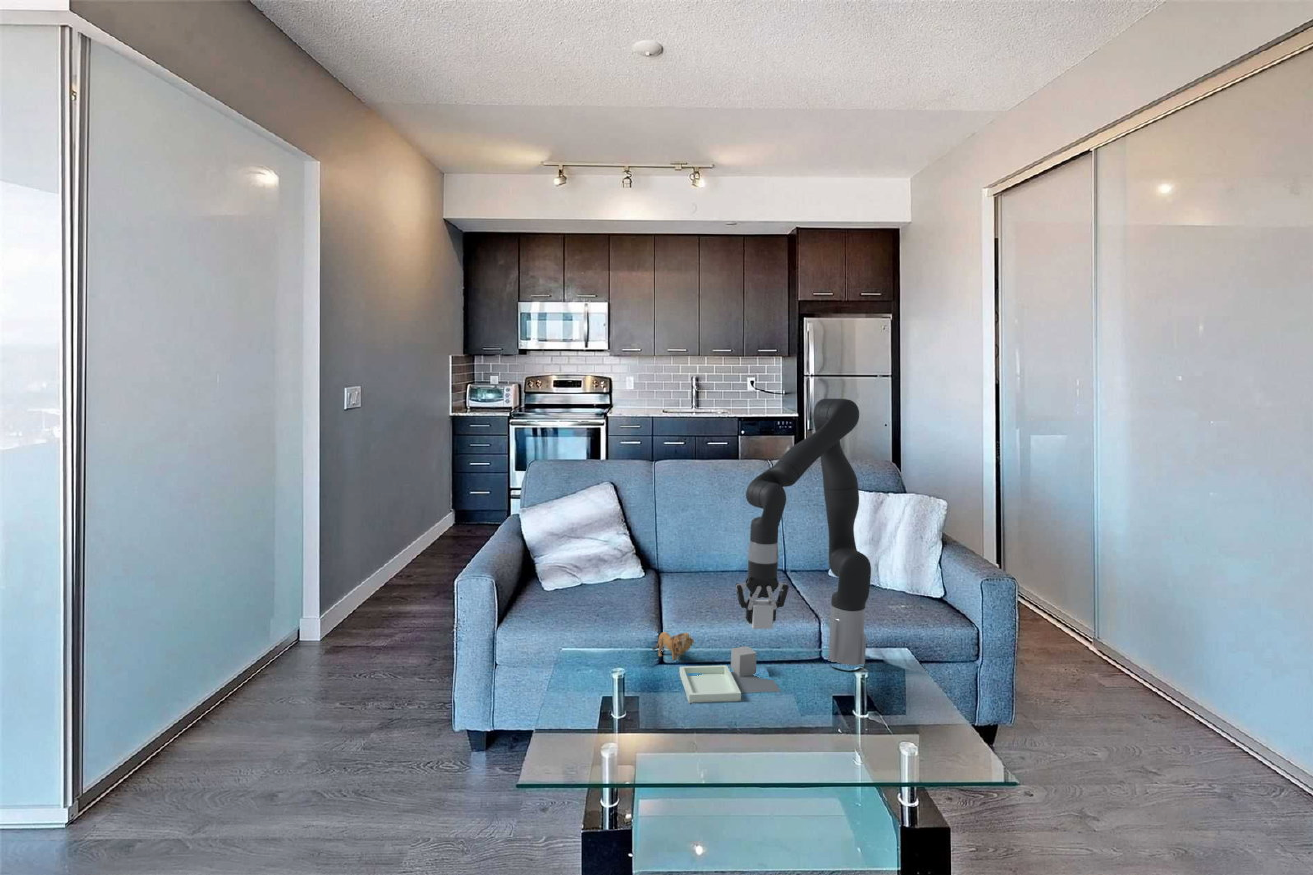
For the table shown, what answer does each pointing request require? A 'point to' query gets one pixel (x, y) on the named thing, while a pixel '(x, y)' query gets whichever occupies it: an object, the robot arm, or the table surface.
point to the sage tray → (709, 684)
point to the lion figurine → (674, 644)
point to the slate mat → (754, 684)
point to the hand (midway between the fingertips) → (760, 622)
